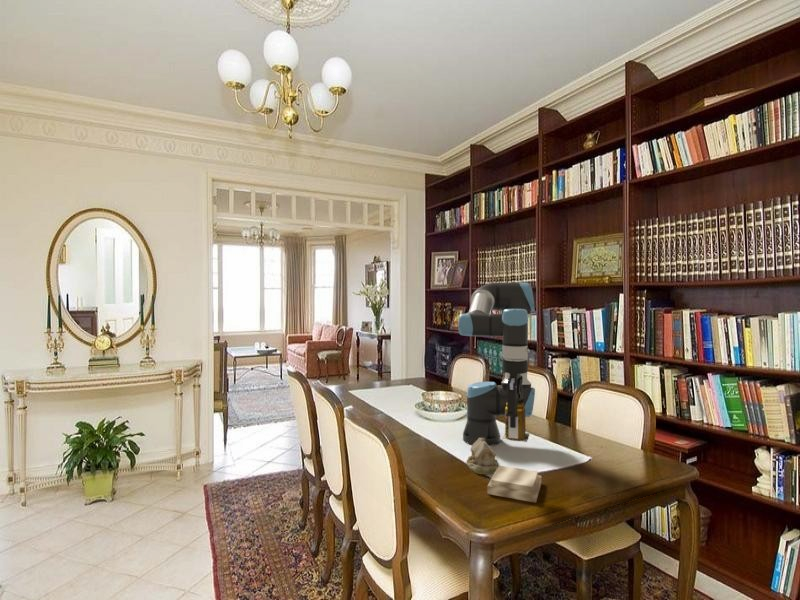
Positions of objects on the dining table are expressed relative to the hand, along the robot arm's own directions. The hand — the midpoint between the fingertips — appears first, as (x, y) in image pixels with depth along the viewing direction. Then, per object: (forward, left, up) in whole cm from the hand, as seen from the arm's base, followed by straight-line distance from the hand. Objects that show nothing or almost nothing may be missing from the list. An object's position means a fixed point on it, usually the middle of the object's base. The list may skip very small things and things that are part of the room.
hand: (515, 434), depth 134 cm
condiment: (0, +1, -1) cm, 2 cm away
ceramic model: (-13, +13, -17) cm, 25 cm away
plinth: (0, 0, -17) cm, 17 cm away
